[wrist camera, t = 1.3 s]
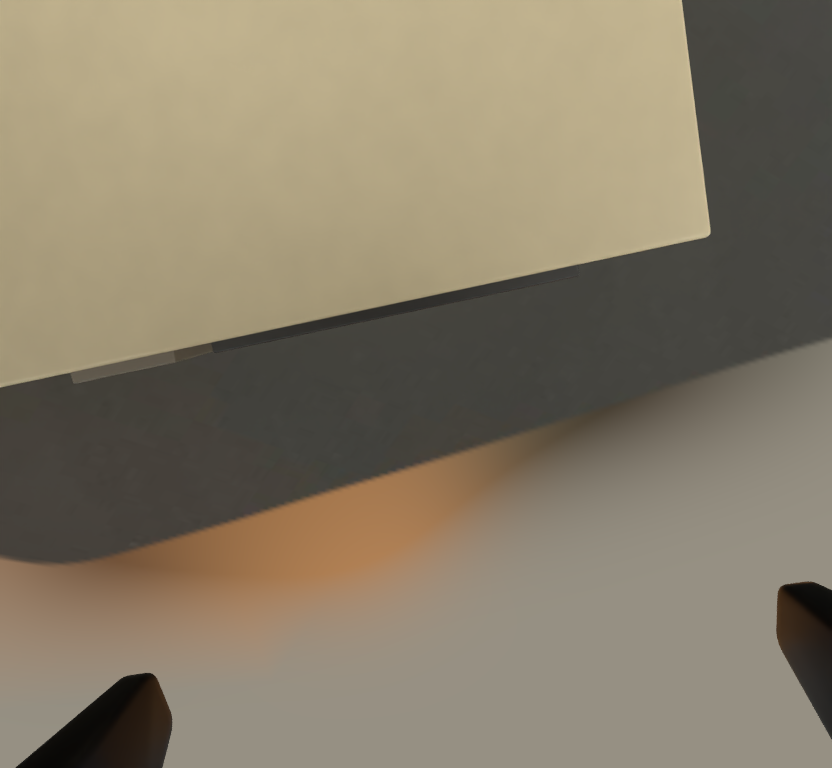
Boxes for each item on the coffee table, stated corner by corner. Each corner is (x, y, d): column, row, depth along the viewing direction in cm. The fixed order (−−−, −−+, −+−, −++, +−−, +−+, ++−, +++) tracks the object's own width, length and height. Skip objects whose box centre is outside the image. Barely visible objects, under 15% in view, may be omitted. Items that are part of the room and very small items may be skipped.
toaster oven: (536, 275, 20) (715, 255, 7) (237, 339, 21) (-69, 420, 8) (469, -107, 18) (558, -1017, 6) (142, -24, 19) (-453, -661, 6)
